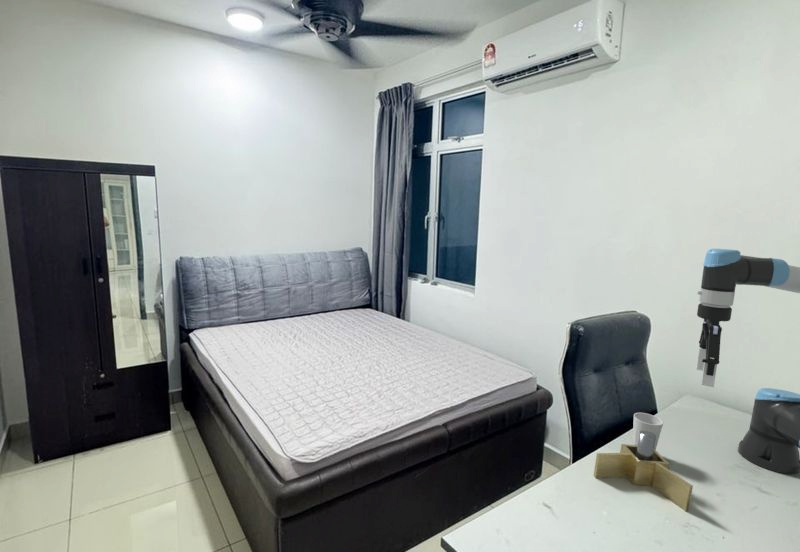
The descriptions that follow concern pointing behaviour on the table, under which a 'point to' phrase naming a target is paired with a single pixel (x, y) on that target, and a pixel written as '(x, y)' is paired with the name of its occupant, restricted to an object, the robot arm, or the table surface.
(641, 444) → the pin
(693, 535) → the table surface
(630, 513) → the table surface
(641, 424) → the cup
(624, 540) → the table surface
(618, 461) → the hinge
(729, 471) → the table surface
